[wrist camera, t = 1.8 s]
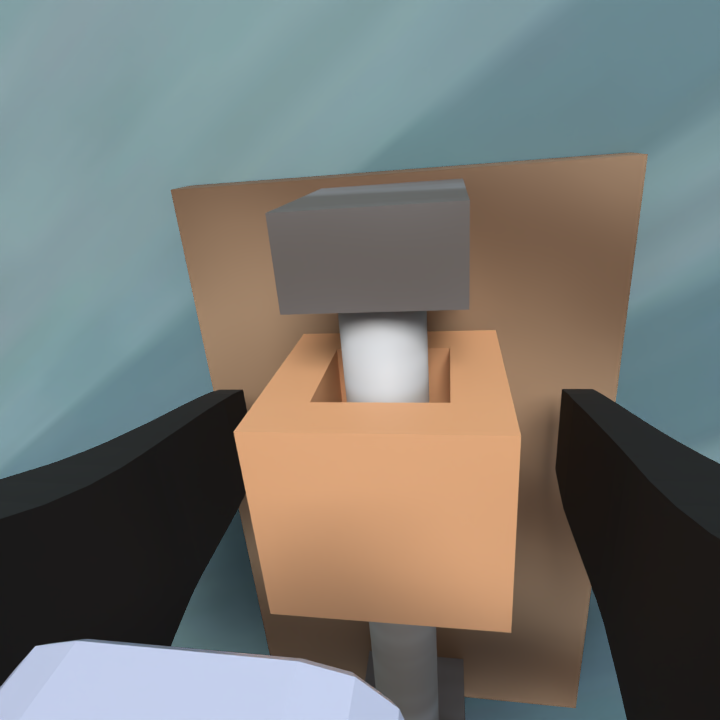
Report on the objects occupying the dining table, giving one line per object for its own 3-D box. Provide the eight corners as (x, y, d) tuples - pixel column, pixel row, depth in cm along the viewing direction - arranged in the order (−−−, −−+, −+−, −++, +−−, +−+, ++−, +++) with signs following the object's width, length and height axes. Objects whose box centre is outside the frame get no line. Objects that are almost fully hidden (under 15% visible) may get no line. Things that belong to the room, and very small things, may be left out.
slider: (491, 479, 13) (511, 632, 9) (322, 474, 14) (270, 613, 10) (495, 330, 11) (521, 436, 7) (303, 334, 12) (233, 432, 8)
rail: (569, 678, 17) (609, 860, 13) (283, 651, 19) (234, 805, 15) (631, 152, 11) (753, 165, 6) (190, 185, 13) (55, 213, 8)
